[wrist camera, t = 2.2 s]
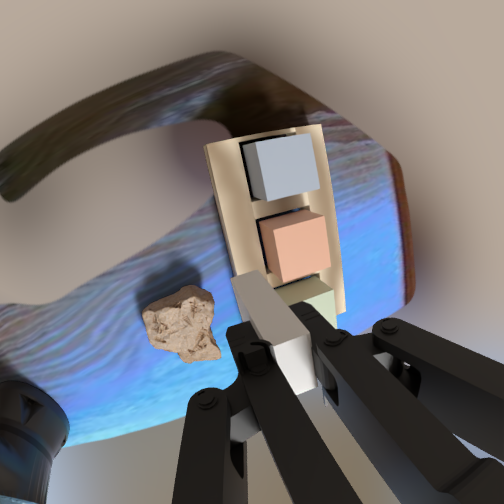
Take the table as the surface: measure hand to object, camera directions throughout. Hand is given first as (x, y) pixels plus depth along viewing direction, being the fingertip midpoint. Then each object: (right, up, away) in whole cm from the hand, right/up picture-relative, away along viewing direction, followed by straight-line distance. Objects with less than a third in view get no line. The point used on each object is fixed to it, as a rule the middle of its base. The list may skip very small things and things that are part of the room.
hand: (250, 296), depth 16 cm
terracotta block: (+4, +4, +21) cm, 22 cm away
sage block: (+6, -4, +24) cm, 25 cm away
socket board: (+4, +5, +23) cm, 24 cm away
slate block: (+3, +12, +18) cm, 22 cm away
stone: (-9, -6, +23) cm, 26 cm away
